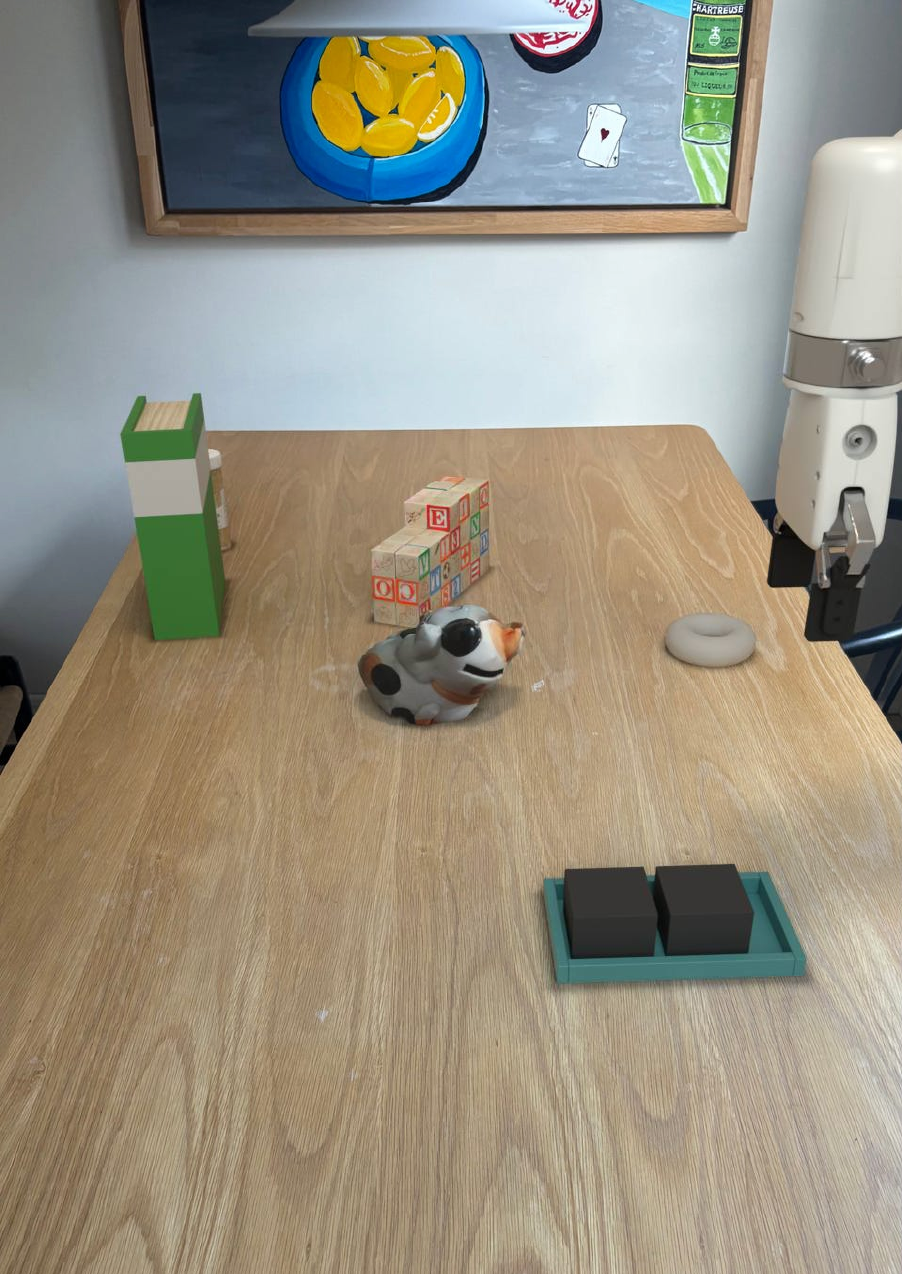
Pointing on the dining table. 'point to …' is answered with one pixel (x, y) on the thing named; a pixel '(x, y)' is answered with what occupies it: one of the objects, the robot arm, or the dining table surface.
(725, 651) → the donut
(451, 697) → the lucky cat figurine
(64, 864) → the dining table surface
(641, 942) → the seated pad
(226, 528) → the sprinkles bottle
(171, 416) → the hardback book
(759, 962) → the tray
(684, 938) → the black square block
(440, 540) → the stack of blocks
